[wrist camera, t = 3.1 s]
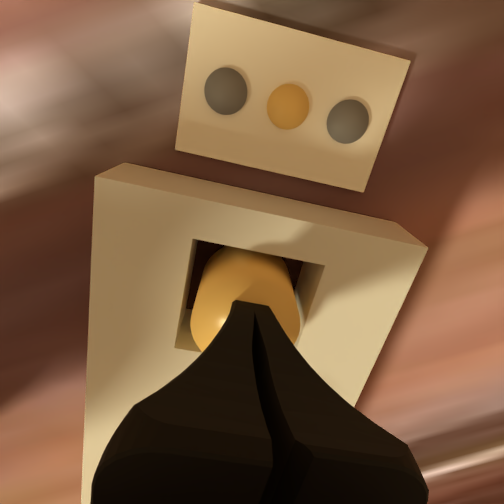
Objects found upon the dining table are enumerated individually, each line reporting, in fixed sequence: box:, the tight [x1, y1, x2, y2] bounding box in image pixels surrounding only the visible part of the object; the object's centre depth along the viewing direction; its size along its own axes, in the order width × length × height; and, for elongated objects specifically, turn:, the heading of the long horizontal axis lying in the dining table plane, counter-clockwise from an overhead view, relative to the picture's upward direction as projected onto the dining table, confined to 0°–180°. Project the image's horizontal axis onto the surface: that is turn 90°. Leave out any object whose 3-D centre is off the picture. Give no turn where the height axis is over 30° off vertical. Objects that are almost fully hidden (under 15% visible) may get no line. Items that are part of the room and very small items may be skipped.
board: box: [81, 162, 428, 504], centre depth 18 cm, size 12×24×3 cm, turn 167°
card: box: [175, 2, 411, 192], centre depth 13 cm, size 8×5×1 cm, turn 77°
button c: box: [190, 246, 300, 352], centre depth 14 cm, size 4×4×3 cm
